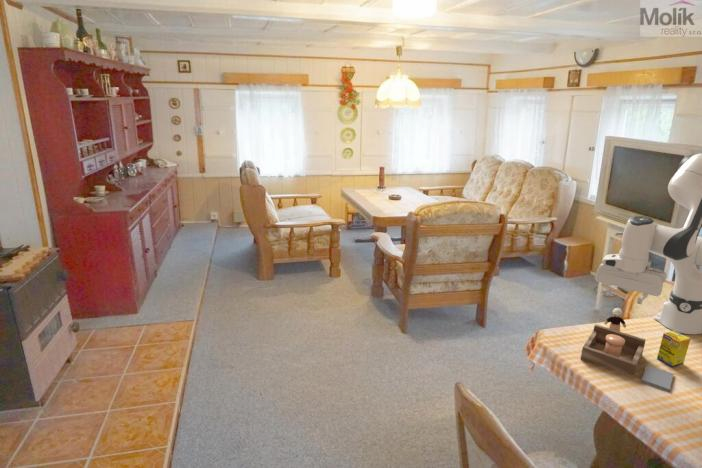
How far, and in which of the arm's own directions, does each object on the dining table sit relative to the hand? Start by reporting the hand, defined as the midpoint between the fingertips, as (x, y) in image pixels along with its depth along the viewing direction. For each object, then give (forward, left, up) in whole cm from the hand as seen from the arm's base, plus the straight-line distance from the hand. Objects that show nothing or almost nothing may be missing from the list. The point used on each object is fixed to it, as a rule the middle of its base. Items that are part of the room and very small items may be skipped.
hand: (624, 299), depth 160 cm
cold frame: (0, 0, -24) cm, 24 cm away
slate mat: (+4, +15, -24) cm, 29 cm away
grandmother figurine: (-16, -3, -24) cm, 29 cm away
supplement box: (-11, +17, -24) cm, 32 cm away
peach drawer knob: (0, 0, -24) cm, 24 cm away
